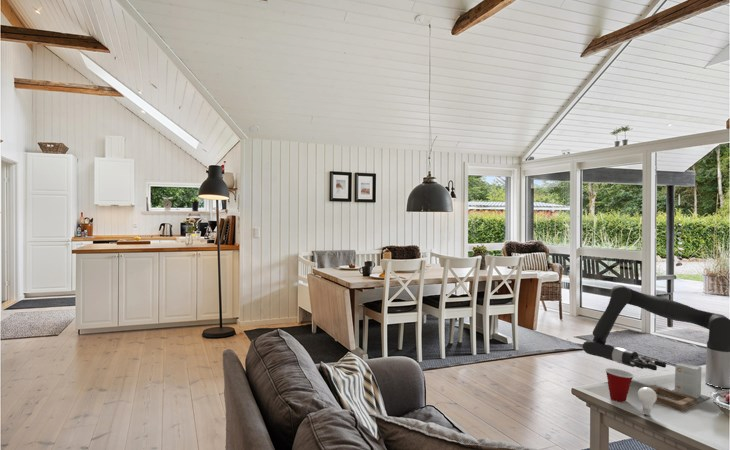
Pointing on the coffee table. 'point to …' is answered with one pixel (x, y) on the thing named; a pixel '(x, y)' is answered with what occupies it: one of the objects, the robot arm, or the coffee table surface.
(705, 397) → the mat
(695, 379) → the small box
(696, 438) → the coffee table surface
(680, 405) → the holder
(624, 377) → the plastic cup
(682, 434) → the coffee table surface
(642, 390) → the lightbulb
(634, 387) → the coffee table surface
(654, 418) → the coffee table surface
